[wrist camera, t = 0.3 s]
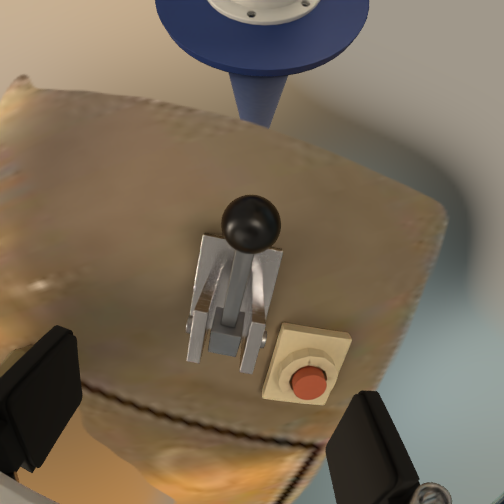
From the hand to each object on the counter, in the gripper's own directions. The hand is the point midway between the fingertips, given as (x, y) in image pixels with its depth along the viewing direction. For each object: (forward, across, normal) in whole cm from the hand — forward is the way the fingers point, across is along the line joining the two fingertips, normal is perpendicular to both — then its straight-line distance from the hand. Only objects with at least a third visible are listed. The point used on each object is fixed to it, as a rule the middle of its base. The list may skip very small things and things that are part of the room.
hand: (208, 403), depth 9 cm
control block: (+23, -10, +13) cm, 29 cm away
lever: (+13, 0, 0) cm, 13 cm away
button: (+20, -10, +13) cm, 26 cm away
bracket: (+23, 0, +5) cm, 24 cm away
